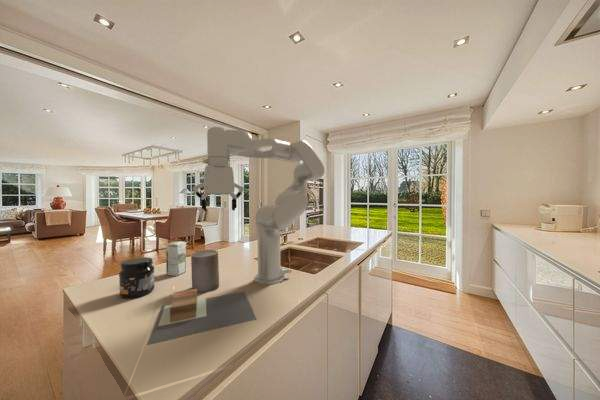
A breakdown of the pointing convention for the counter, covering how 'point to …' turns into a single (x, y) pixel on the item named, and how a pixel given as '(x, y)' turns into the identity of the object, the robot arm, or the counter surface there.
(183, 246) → the syrup box
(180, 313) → the brown rectangular block
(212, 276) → the pillar candle
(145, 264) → the supplement container
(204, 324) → the mat
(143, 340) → the counter surface
